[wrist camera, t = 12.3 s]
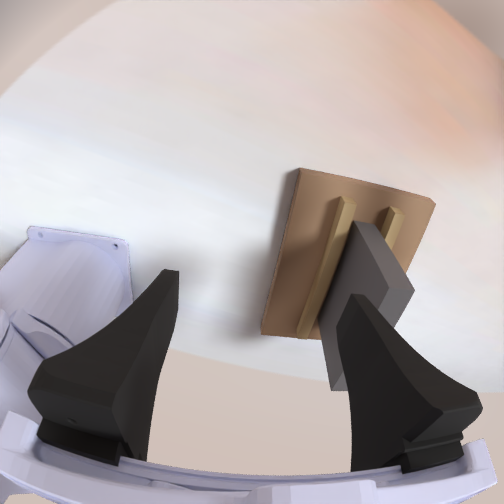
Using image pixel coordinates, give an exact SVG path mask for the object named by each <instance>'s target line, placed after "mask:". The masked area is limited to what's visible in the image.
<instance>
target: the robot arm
mask: <svg viewBox="0 0 504 504" xmlns="http://www.w3.org/2000/svg"><path fill="white" fill-rule="evenodd" d="M41 233H42V235H41ZM27 234H28V238H29V239H28V240H27V241H26V242H25V243H24V244H23V246H22V247H21V248H20V249H19V250H18V251H17V252H16V253H15V254H14V255H13V256H12V257H11V259H10V260H9V261H8V262H7V263H6V264H5V265H4V267H3V268H2V269H1V270H0V504H4V502H5V501H6V499H7V498H8V496H9V495H12V494H29V493H35V494H37V495H39V496H41V497H43V498H46V499H48V500H50V501H53V502H55V503H57V504H459V503H461V502H464V501H465V500H467V499H469V498H471V497H473V496H475V495H477V494H479V493H481V492H482V491H484V490H486V489H487V488H489V487H491V486H493V485H495V484H496V483H497V482H498V481H497V477H496V474H495V470H494V467H493V464H492V461H491V458H490V455H489V452H488V449H487V446H486V443H485V440H484V439H479V440H476V441H473V442H469V443H467V444H465V445H463V446H461V443H460V440H462V439H463V434H462V431H463V430H464V429H465V428H467V427H468V426H469V425H470V424H471V423H472V422H473V421H475V420H476V419H477V418H478V416H479V415H480V414H481V412H482V409H483V407H482V404H481V402H480V399H479V397H478V395H477V392H475V391H473V390H471V389H469V388H468V387H466V386H464V385H462V384H460V383H458V382H457V381H455V380H453V379H452V378H450V377H449V376H447V375H446V374H444V373H443V372H441V371H440V370H438V369H437V368H436V367H434V366H433V365H432V364H431V363H429V362H428V361H427V360H426V359H424V358H423V357H422V356H421V355H420V354H419V353H418V352H416V351H415V350H414V349H413V348H412V347H411V346H410V345H409V344H408V343H407V342H406V341H405V340H404V339H403V338H402V337H401V336H400V335H399V334H398V333H397V331H396V330H395V329H394V328H393V327H392V326H391V325H390V324H389V322H388V321H387V320H386V319H385V318H384V317H383V316H382V314H381V313H380V312H379V311H378V310H377V309H376V307H375V306H374V305H373V304H372V303H371V302H370V301H369V300H368V298H367V297H366V296H365V295H362V294H353V293H351V295H350V297H349V299H348V302H347V304H346V306H345V308H344V311H343V313H342V315H341V317H340V319H339V321H338V324H337V326H336V333H337V343H338V350H339V354H340V358H341V363H342V367H343V371H344V375H345V380H346V384H347V388H348V393H349V401H350V412H351V429H352V456H351V472H348V473H336V474H321V475H297V476H269V475H243V474H229V473H218V472H208V471H199V470H192V469H184V468H178V467H172V466H166V465H160V464H155V463H150V462H147V452H148V443H149V435H150V427H151V420H152V413H153V407H154V401H155V395H156V390H157V384H158V380H159V376H160V372H161V369H162V366H163V363H164V360H165V356H166V353H167V350H168V347H169V344H170V341H171V338H172V334H173V331H174V327H175V322H176V317H177V312H178V294H179V271H174V270H167V269H164V270H162V271H161V273H160V274H159V275H158V276H157V277H156V279H155V280H154V281H153V282H152V283H151V284H150V285H149V287H148V288H147V289H146V290H145V291H144V292H143V293H142V294H141V295H140V296H139V297H138V298H137V299H136V300H135V301H134V302H133V296H132V286H131V274H130V261H129V246H128V243H127V242H126V241H125V240H123V239H116V238H109V237H102V236H95V235H88V234H82V233H75V232H68V231H61V230H54V229H47V228H41V227H34V226H31V227H29V228H28V230H27ZM114 244H116V245H117V246H118V247H116V246H114ZM122 312H123V313H122ZM115 317H117V318H115ZM114 318H115V319H114Z"/></svg>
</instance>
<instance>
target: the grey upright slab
mask: <svg viewBox="0 0 504 504" xmlns="http://www.w3.org/2000/svg"><path fill="white" fill-rule="evenodd" d="M414 291H415V290H414V288H413V286H412V284H411V283H410V281H409V279H408V277H407V276H406V274H405V272H404V271H403V269H402V267H401V266H400V264H399V262H398V261H397V259H396V257H395V256H394V254H393V252H392V251H391V249H390V248H389V246H388V244H387V243H386V241H385V240H384V238H383V236H382V235H381V233H380V232H379V230H378V229H377V227H376V226H375V224H370V223H365V222H360V221H353V224H352V227H351V230H350V233H349V235H348V238H347V241H346V244H345V247H344V250H343V253H342V255H341V258H340V261H339V264H338V266H337V269H336V272H335V274H334V277H333V280H332V282H331V285H330V288H329V290H328V293H327V295H326V298H325V300H324V303H323V306H322V308H321V311H320V313H319V315H318V318H317V320H318V325H319V330H320V335H321V340H322V345H323V350H324V356H325V361H326V366H327V372H328V377H329V383H330V388H331V391H348V388H347V384H346V380H345V375H344V371H343V367H342V363H341V358H340V354H339V350H338V343H337V333H336V326H337V324H338V321H339V319H340V317H341V315H342V313H343V311H344V308H345V306H346V304H347V302H348V299H349V297H350V295H351V293H353V294H362V295H365V296H366V297H367V298H368V300H369V301H370V302H371V303H372V304H373V305H374V306H375V307H376V309H377V310H378V311H379V312H380V313H381V314H382V316H383V317H384V318H385V319H386V320H387V321H388V322H389V324H390V325H391V326H392V327H393V328H394V327H395V325H396V323H397V322H398V320H399V318H400V317H401V315H402V313H403V311H404V310H405V308H406V306H407V304H408V302H409V301H410V299H411V297H412V295H413V293H414Z"/></svg>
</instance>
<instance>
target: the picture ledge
mask: <svg viewBox="0 0 504 504" xmlns="http://www.w3.org/2000/svg"><path fill="white" fill-rule="evenodd" d="M435 205H436V204H435V203H434V202H433V201H432V200H431V199H430V198H428V197H424V196H420V195H417V194H413V193H409V192H406V191H402V190H398V189H394V188H390V187H386V186H382V185H378V184H374V183H370V182H366V181H361V180H357V179H352V178H348V177H343V176H339V175H334V174H329V173H324V172H319V171H314V170H309V169H304V168H300V169H299V173H298V178H297V182H296V186H295V190H294V195H293V199H292V203H291V207H290V211H289V216H288V220H287V224H286V228H285V232H284V236H283V240H282V244H281V248H280V252H279V256H278V260H277V264H276V268H275V272H274V276H273V280H272V284H271V288H270V292H269V296H268V300H267V304H266V307H265V311H264V315H263V319H262V323H261V335H270V336H281V337H291V338H297V339H316V340H321V335H320V330H319V325H318V320H317V318H318V315H319V313H320V311H321V308H322V306H323V303H324V300H325V298H326V295H327V293H328V290H329V288H330V285H331V282H332V280H333V277H334V274H335V272H336V269H337V266H338V264H339V261H340V258H341V255H342V253H343V250H344V247H345V244H346V241H347V238H348V235H349V233H350V230H351V227H352V224H353V221H360V222H365V223H370V224H375V226H376V227H377V229H378V230H379V232H380V233H381V235H382V236H383V238H384V240H385V241H386V243H387V244H388V246H389V248H390V249H391V251H392V252H393V254H394V256H395V257H396V259H397V261H398V262H399V264H400V266H401V267H402V269H403V271H404V272H405V274H406V272H407V270H408V267H409V265H410V263H411V261H412V259H413V257H414V255H415V252H416V250H417V248H418V246H419V244H420V241H421V239H422V237H423V234H424V232H425V230H426V227H427V225H428V223H429V220H430V218H431V215H432V213H433V210H434V208H435Z"/></svg>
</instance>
